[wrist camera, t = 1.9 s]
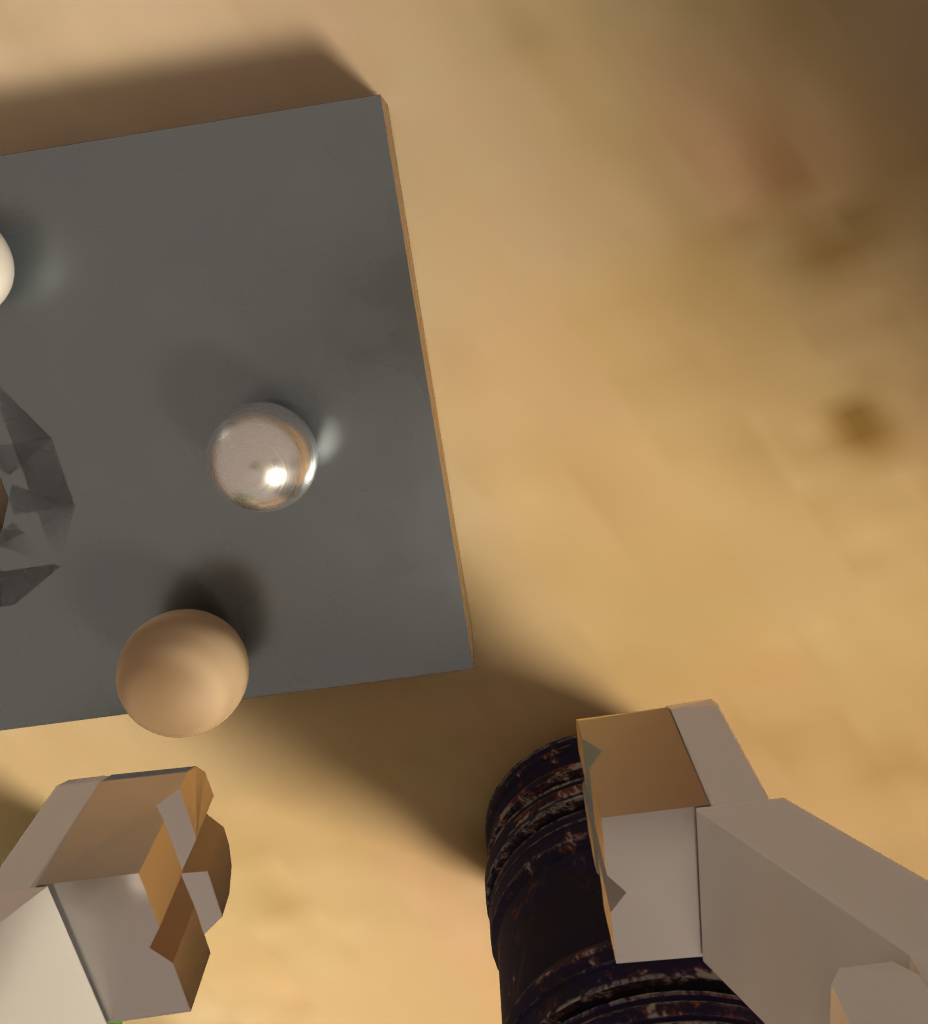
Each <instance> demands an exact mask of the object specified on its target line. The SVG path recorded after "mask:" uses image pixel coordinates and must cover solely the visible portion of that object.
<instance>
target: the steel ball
mask: <svg viewBox="0 0 928 1024" xmlns="http://www.w3.org/2000/svg"><path fill="white" fill-rule="evenodd" d="M205 464H206V469H207V473H208V476H209V478H210V480H211V482H212V484H213V485H214V487H215V488H216V490H217V491H218V492H219V493H220V494H221V495H222V496H223V497H224V498H225V499H226V500H228V501H229V502H230V503H232V504H234V505H236V506H238V507H240V508H242V509H245V510H249V511H254V512H270V511H276V510H280V509H282V508H285V507H287V506H289V505H291V504H293V503H294V502H296V501H297V500H298V499H299V498H301V497H302V496H303V495H304V493H305V492H306V491H307V490H308V489H309V487H310V485H311V484H312V482H313V480H314V477H315V474H316V471H317V466H318V450H317V445H316V441H315V438H314V436H313V434H312V432H311V430H310V429H309V427H308V426H307V424H306V423H305V422H304V421H303V420H302V419H301V418H300V417H299V416H298V415H297V414H295V413H294V412H292V411H291V410H289V409H287V408H285V407H283V406H281V405H277V404H274V403H268V402H253V403H248V404H244V405H241V406H238V407H236V408H234V409H232V410H231V411H229V412H228V413H226V414H225V415H224V416H223V417H221V418H220V419H219V421H218V422H217V423H216V424H215V426H214V427H213V429H212V430H211V432H210V434H209V437H208V440H207V443H206V448H205Z"/></svg>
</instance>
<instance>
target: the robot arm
mask: <svg viewBox="0 0 928 1024" xmlns="http://www.w3.org/2000/svg"><path fill="white" fill-rule="evenodd" d="M576 729H577V740H578V750H579V755H580V760H581V764H582V769H583V773H584V778H585V780H584V781H583V783H582V786H583V794H584V801H585V809H586V816H587V824H588V831H589V837H590V842H591V847H592V853H593V858H594V863H595V867H596V872H597V873H598V874H599V875H600V878H601V886H602V895H603V904H604V910H605V914H606V919H607V923H608V928H609V932H610V937H611V941H612V946H613V950H614V955H615V959H616V964H617V963H629V962H641V961H653V960H665V959H677V958H689V957H701V956H703V961H704V962H705V963H706V964H707V965H708V966H709V967H710V968H711V969H712V970H713V971H714V972H715V973H716V974H717V975H718V976H719V977H720V978H721V979H722V980H723V981H724V982H725V984H726V985H727V986H728V987H729V988H730V989H731V990H732V991H733V992H734V993H735V994H736V995H737V996H738V997H739V998H740V999H741V1000H742V1001H743V1002H744V1003H745V1004H746V1005H747V1006H748V1007H749V1008H750V1009H751V1010H752V1011H753V1012H754V1013H755V1014H756V1015H757V1016H758V1017H759V1018H760V1019H761V1020H762V1021H763V1022H764V1023H765V1024H928V880H926V879H924V878H922V877H921V876H919V875H917V874H915V873H914V872H912V871H910V870H908V869H907V868H905V867H903V866H901V865H900V864H898V863H896V862H894V861H893V860H891V859H889V858H888V857H886V856H884V855H882V854H881V853H879V852H877V851H875V850H874V849H872V848H870V847H868V846H867V845H865V844H863V843H861V842H860V841H858V840H856V839H854V838H853V837H851V836H849V835H847V834H846V833H844V832H842V831H840V830H839V829H837V828H835V827H834V826H832V825H830V824H828V823H827V822H825V821H823V820H821V819H820V818H818V817H816V816H814V815H813V814H811V813H809V812H807V811H806V810H804V809H802V808H800V807H799V806H797V805H795V804H793V803H792V802H790V801H788V800H786V799H785V798H779V799H770V800H769V798H768V796H767V794H766V793H765V791H764V789H763V787H762V785H761V783H760V781H759V780H758V778H757V776H756V774H755V772H754V770H753V768H752V767H751V765H750V763H749V761H748V759H747V757H746V755H745V754H744V752H743V750H742V748H741V746H740V744H739V742H738V741H737V739H736V737H735V735H734V733H733V731H732V729H731V728H730V726H729V724H728V722H727V720H726V718H725V717H724V715H723V713H722V711H721V709H720V707H719V705H718V704H717V703H716V702H715V701H713V700H711V699H708V700H702V701H695V702H689V703H683V704H676V705H670V706H666V708H659V709H651V710H644V711H636V712H629V713H621V714H614V715H606V716H599V717H591V718H584V719H576ZM213 796H214V795H213V793H212V790H211V787H210V784H209V782H208V779H207V776H206V773H205V772H204V771H203V770H201V769H199V768H198V767H196V766H194V767H184V768H174V769H164V770H155V771H145V772H135V773H125V774H116V775H111V776H99V777H91V778H83V779H74V780H68V781H66V782H64V783H62V784H60V785H58V786H56V788H55V789H54V790H53V792H52V793H51V795H50V796H49V798H48V799H47V801H46V802H45V803H44V805H43V806H42V808H41V809H40V811H39V812H38V813H37V815H36V816H35V818H34V819H33V821H32V822H31V823H30V825H29V826H28V828H27V829H26V831H25V832H24V833H23V835H22V836H21V838H20V839H19V841H18V842H17V844H16V845H15V846H14V848H13V849H12V851H11V852H10V854H9V855H8V856H7V858H6V859H5V861H4V862H3V864H2V865H1V866H0V1024H107V1023H113V1022H120V1021H127V1020H134V1019H141V1018H148V1017H155V1016H162V1015H169V1014H176V1013H183V1012H190V1011H191V1009H192V1006H193V1003H194V1000H195V997H196V994H197V991H198V988H199V985H200V982H201V979H202V976H203V973H204V970H205V967H206V964H207V961H208V958H209V955H210V950H209V947H208V944H207V941H206V939H205V936H204V934H205V933H206V932H207V931H208V930H209V929H210V928H211V927H212V926H213V925H214V924H215V923H216V922H217V921H218V920H219V919H220V918H221V917H222V916H223V912H224V909H225V906H226V902H227V899H228V896H229V890H230V878H231V858H230V849H229V843H228V840H227V837H226V833H225V830H224V827H223V826H221V825H220V824H219V823H218V822H216V821H215V820H214V819H212V818H211V817H210V816H208V815H207V814H206V813H207V811H208V808H209V806H210V803H211V801H212V798H213Z"/></svg>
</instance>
